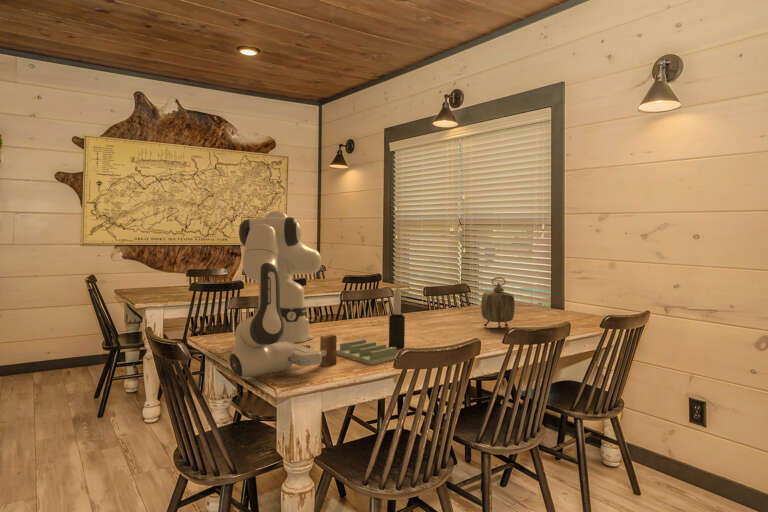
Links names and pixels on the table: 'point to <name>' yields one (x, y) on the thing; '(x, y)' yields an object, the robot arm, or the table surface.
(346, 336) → the table surface
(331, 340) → the block
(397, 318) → the candle
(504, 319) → the tabletop clock
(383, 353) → the rack
